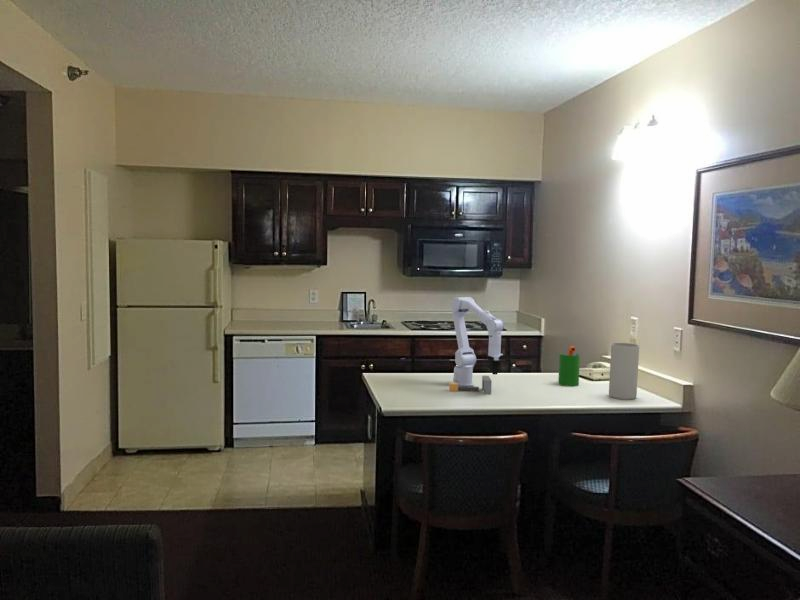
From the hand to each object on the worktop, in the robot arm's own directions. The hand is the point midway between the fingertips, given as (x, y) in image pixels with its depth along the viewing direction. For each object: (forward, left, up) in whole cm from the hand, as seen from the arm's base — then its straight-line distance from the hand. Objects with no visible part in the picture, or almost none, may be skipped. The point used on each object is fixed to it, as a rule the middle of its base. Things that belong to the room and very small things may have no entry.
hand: (493, 372), depth 314 cm
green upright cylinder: (+42, +22, -10) cm, 48 cm away
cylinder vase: (+61, -3, -10) cm, 62 cm away
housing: (-3, +2, -9) cm, 10 cm away
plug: (-14, +2, -10) cm, 17 cm away
